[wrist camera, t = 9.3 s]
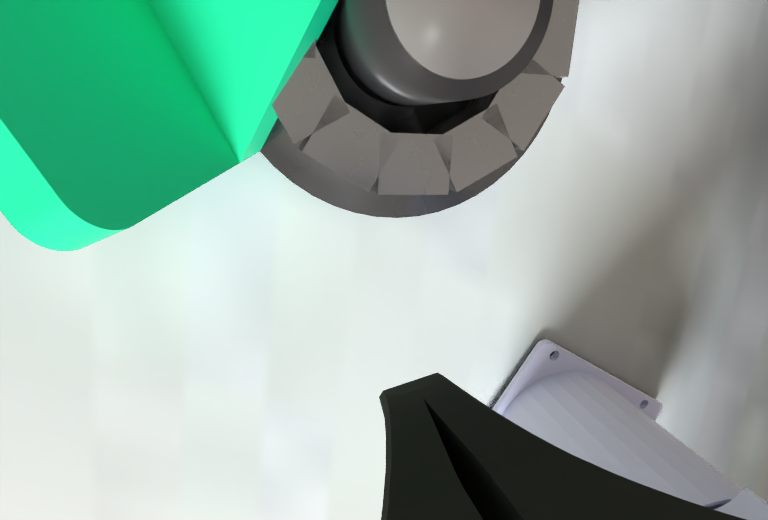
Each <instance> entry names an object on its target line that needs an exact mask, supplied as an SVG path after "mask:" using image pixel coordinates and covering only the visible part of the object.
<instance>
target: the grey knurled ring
mask: <svg viewBox="0 0 768 520" xmlns="http://www.w3.org/2000/svg"><path fill="white" fill-rule="evenodd" d="M578 5H579V0H554V2H553V7H552V13H551V18H550V21H549V25H548V28H547V31H546V33H545V36H544V38H543V41H542V43H541V45H540V47H539V49H538V50H537V52H536V54H535V55H534V57H533V58H532V60H531V61H530V63H529V64H528V65H527V66H526V68H525V69H524V70H523V71H522V72H521V73H520V74H519V75H518V76H517V77H516V78H515V79H514V80H512V81H511V82H510V83H509V84H507V85H506V86H504V87H503V88H501V89H499V90H497V91H495V92H493V93H491V94H489V95H486V96H483V97H480V98H475V99H470V100H463V101H454V102H445V103H437V104H428V105H420V106H411V107H400V106H393V105H389V104H385V103H383V102H380V101H378V100H376V99H374V98H372V97H371V96H369V95H368V94H366V93H365V92H364V91H363V90H361V89H360V88H359V87H358V86H357V85H356V84H355V83H354V81H353V80H352V79H351V77H350V76H349V75H348V73H347V71H346V70H345V68H344V66H343V64H342V62H341V60H340V57H339V54H338V51H337V48H336V43H335V38H334V26H333V24H334V11H335V8H334V10H333V12H332V14H331V16H330V18H329V20H328V21H327V23H326V25H325V27H324V29H323V31H322V33H321V35H320V37H319V39H318V41H317V43H316V45H315V40H314V41H313V43H312V45H311V46H310V48H309V49H308V51H307V52H306V54H305V55H304V57H303V58H302V60H301V61H300V63H299V64H298V66H297V67H296V69H295V71H294V72H293V74H292V75H291V77H290V78H289V80H288V81H287V83H286V84H285V86H284V87H283V89H282V90H281V92H280V93H279V95H278V97H277V98H276V100H275V101H274V103H273V104H272V107H273V109H274V111H275V113H276V115H277V117H278V118H277V120H276V122H275V124H274V126H273V127H272V129H271V131H270V133H269V135H268V137H267V139H266V141H265V143H264V145H263V147H262V149H261V151H260V152H261V153H262V154H263V155H264V156H265V157H266V158H267V159H268V160H269V161H270V163H271V164H272V165H273V166H274V167H275V168H277V169H278V170H279V171H280V172H281V173H282V174H284V175H285V176H286V177H287V178H288V179H289V180H291V181H292V182H293V183H295V184H296V185H298V186H299V187H301V188H302V189H304V190H305V191H307V192H308V193H310V194H311V195H313V196H315V197H317V198H319V199H321V200H323V201H325V202H327V203H329V204H331V205H334V206H337V207H340V208H343V209H346V210H349V211H352V212H355V213H360V214H365V215H370V216H376V217H394V218H399V217H412V216H420V215H425V214H430V213H434V212H439V211H441V210H444V209H447V208H450V207H453V206H455V205H458V204H460V203H462V202H464V201H466V200H468V199H470V198H472V197H474V196H476V195H477V194H479V193H480V192H482V191H483V190H485V189H486V188H488V187H489V186H491V185H492V184H494V183H495V182H496V181H497V180H498V179H499V178H500V177H502V176H503V175H504V174H505V173H506V172H507V171H508V170H510V168H511V167H512V166H513V165H514V164H515V163H516V162H517V161H518V160H519V159H520V157H521V156H522V155H523V154H524V153H525V152H526V150H527V149H528V147H529V146H530V145H531V143H532V142H533V140H534V139H535V138H536V136H537V135H538V133H539V131H540V129H541V127H542V126H543V124H544V122H545V120H546V119H547V117H548V115H549V112H550V110H551V108H552V106H553V104H554V102H555V101H556V99H557V98H558V96H559V95H560V93H561V91H562V90H563V88H564V87H565V86H564V85H563V84H561V80H562V77H568V75H569V68H570V61H571V54H572V47H573V40H574V33H575V26H576V19H577V12H578Z"/></svg>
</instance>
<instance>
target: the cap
mask: <svg viewBox="0 0 768 520" xmlns="http://www.w3.org/2000/svg"><path fill="white" fill-rule="evenodd" d="M553 2H554V0H338V2H337V4H336V6H335V11H334V24H333V26H334V38H335V43H336V48H337V51H338V54H339V57H340V60H341V62H342V64H343V66H344V68H345V70H346V71H347V73H348V75H349V76H350V77H351V79H352V80H353V81H354V83H355V84H356V85H357V86H358V87H359V88H360V89H361V90H363V91H364V92H365V93H366V94H368V95H369V96H371V97H372V98H374V99H376V100H378V101H380V102H383V103H385V104H389V105H393V106H400V107H411V106H420V105H428V104H437V103H445V102H454V101H463V100H470V99H475V98H480V97H483V96H486V95H489V94H491V93H493V92H495V91H497V90H499V89H501V88H503V87H504V86H506V85H507V84H509V83H510V82H511V81H512V80H514V79H515V78H516V77H517V76H518V75H519V74H520V73H521V72H522V71H523V70H524V69H525V68H526V66H527V65H528V64H529V63H530V61H531V60H532V58H533V57H534V55H535V54H536V52H537V50H538V49H539V47H540V45H541V43H542V41H543V38H544V36H545V33H546V31H547V28H548V25H549V21H550V18H551V13H552V7H553Z"/></svg>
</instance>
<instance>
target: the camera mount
mask: <svg viewBox="0 0 768 520" xmlns="http://www.w3.org/2000/svg"><path fill="white" fill-rule="evenodd" d="M337 2H338V0H0V211H1V212H2V213H3V215H4V216H5V217H6V218H7V220H8V221H9V222H10V223H11V224H12V226H13V227H14V228H15V229H16V230H17V231H18V232H19V233H21V234H22V235H23V236H24V237H26V238H27V239H29V240H30V241H32V242H34V243H36V244H38V245H40V246H42V247H45V248H48V249H52V250H57V251H73V250H78V249H81V248H83V247H86V246H88V245H90V244H92V243H95V242H97V241H99V240H102V239H104V238H106V237H109V236H111V235H113V234H116V233H118V232H120V231H123V230H125V229H127V228H129V227H131V226H133V225H135V224H137V223H138V222H140V221H142V220H144V219H145V218H147V217H149V216H150V215H152V214H154V213H155V212H157V211H159V210H161V209H162V208H164V207H166V206H167V205H169V204H171V203H172V202H174V201H176V200H178V199H179V198H181V197H183V196H184V195H186V194H188V193H189V192H191V191H193V190H195V189H196V188H198V187H200V186H201V185H203V184H205V183H206V182H208V181H210V180H212V179H213V178H215V177H217V176H218V175H220V174H222V173H223V172H225V171H227V170H229V169H230V168H232V167H234V166H235V165H237V164H239V163H240V162H242V161H244V160H246V159H247V158H249V157H251V156H252V155H254V154H256V153H257V152H259V151H261V149H262V147H263V145H264V143H265V141H266V139H267V137H268V135H269V133H270V131H271V129H272V127H273V126H274V124H275V122H276V120H277V118H278V117H277V115H276V113H275V111H274V109H273V107H272V104H273V103H274V101H275V100H276V98H277V97H278V95H279V93H280V92H281V90H282V89H283V87H284V86H285V84H286V83H287V81H288V80H289V78H290V77H291V75H292V74H293V72H294V71H295V69H296V67H297V66H298V64H299V63H300V61H301V60H302V58H303V57H304V55H305V54H306V52H307V51H308V49H309V48H310V46H311V45H312V43H313V41H314V40H315V45H316V43H317V41H318V39H319V37H320V35H321V33H322V31H323V29H324V27H325V25H326V23H327V21H328V20H329V18H330V16H331V14H332V12H333V10H334V8H335V6H336V4H337Z"/></svg>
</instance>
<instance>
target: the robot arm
mask: <svg viewBox="0 0 768 520" xmlns="http://www.w3.org/2000/svg"><path fill="white" fill-rule="evenodd" d="M553 351H554V354H553V355H552V356H550V354H551V353H552V352H553ZM379 398H380V402H381V406H382V410H383V413H384V417H385V428H386V473H385V486H384V498H383V509H382V517H381V520H768V503H767V502H766V501H765V500H763V499H762V498H761V497H759V496H758V495H757V494H755V493H754V492H753V491H752V490H750V489H744V490H742V489H741V488H740V487H738V486H737V485H736V484H735V483H733V482H732V481H731V480H729V479H728V478H727V477H726V476H724V475H723V474H722V473H720V472H719V471H718V470H717V469H715V468H714V467H713V466H712V465H710V464H709V463H708V462H706V461H705V460H704V459H703V458H701V457H700V456H699V455H697V454H696V453H695V452H694V451H692V450H691V449H690V448H688V447H687V446H686V445H685V444H683V443H682V442H681V441H679V440H678V439H677V438H676V437H674V436H673V435H672V434H670V433H669V432H668V431H667V430H665V429H664V428H663V427H661V426H660V425H659V424H658V423H656V422H655V420H656V418H657V417H658V416H659V414H660V413H661V411H662V404H661V403H660V402H658V401H657V400H656V399H654V398H652V397H650V396H649V395H647V394H645V393H643V392H641V391H640V390H638V389H636V388H634V387H632V386H631V385H629V384H627V383H625V382H623V381H622V380H620V379H618V378H616V377H614V376H613V375H611V374H609V373H607V372H605V371H604V370H602V369H600V368H598V367H596V366H595V365H593V364H591V363H589V362H588V361H586V360H584V359H582V358H580V357H579V356H577V355H575V354H573V353H571V352H570V351H568V350H566V349H564V348H562V347H561V346H559V345H557V344H555V343H553V342H552V341H550V340H547V339H543V340H541V341H539V342H538V343H537V344H536V345H535V347H534V348H533V350H532V351H531V353H530V354H529V355H528V357H527V358H526V360H525V361H524V363H523V364H522V366H521V367H520V369H519V370H518V372H517V373H516V375H515V376H514V377H513V379H512V380H511V382H510V383H509V385H508V386H507V388H506V389H505V391H504V392H503V394H502V395H501V396H500V398H499V399H498V401H497V402H496V404H495V405H494V407H493V408H492V409H491V408H489V407H488V406H486V405H485V404H483V403H481V402H480V401H479V400H477V399H476V398H474V397H473V396H471V395H470V394H468V393H467V392H465V391H464V390H462V389H461V388H460V387H458V386H457V385H455V384H454V383H452V382H451V381H450V380H448V379H447V378H445V377H444V376H443V375H441V374H439V373H435V374H432V375H429V376H426V377H423V378H420V379H417V380H414V381H411V382H408V383H405V384H402V385H399V386H396V387H393V388H390V389H387V390H384V391H383V392H382V394H381V395H380V397H379Z"/></svg>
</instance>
